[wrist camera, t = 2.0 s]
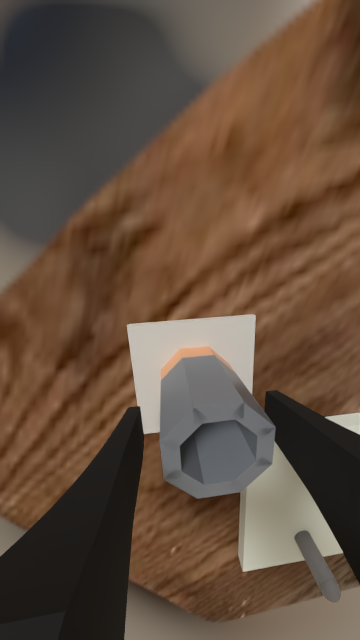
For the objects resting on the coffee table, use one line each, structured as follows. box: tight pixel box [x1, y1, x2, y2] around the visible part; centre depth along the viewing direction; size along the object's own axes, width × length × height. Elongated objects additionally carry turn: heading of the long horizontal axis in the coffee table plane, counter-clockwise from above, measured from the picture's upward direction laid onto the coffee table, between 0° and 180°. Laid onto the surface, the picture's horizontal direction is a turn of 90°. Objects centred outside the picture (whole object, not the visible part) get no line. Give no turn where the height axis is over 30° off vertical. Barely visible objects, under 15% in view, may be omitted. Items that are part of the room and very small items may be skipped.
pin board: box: [238, 413, 360, 602], centre depth 16 cm, size 12×17×5 cm
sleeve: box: [160, 346, 276, 499], centre depth 11 cm, size 5×5×6 cm
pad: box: [127, 314, 256, 434], centre depth 14 cm, size 9×9×1 cm
